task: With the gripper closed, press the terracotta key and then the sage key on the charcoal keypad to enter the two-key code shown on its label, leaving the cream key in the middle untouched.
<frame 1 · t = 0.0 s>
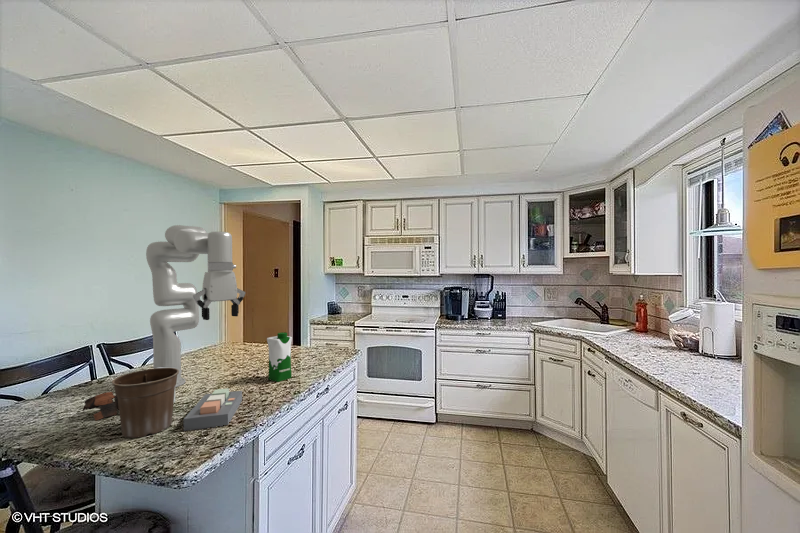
hand: (220, 317, 116), 31 cm above the counter, tool pointing down, fingers open, 9 cm apart
milk carton: (280, 379, 148), on the counter
keypad: (215, 413, 112), on the counter
sage key: (220, 395, 118), point 4 cm above the counter, slide at 0.0 cm
supplement box: (158, 406, 120), on the counter
plant pot: (147, 429, 102), on the counter
terracotta key: (210, 408, 106), point 4 cm above the counter, slide at 0.0 cm
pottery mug: (106, 414, 114), on the counter
cream key: (215, 401, 112), point 4 cm above the counter, slide at 0.0 cm
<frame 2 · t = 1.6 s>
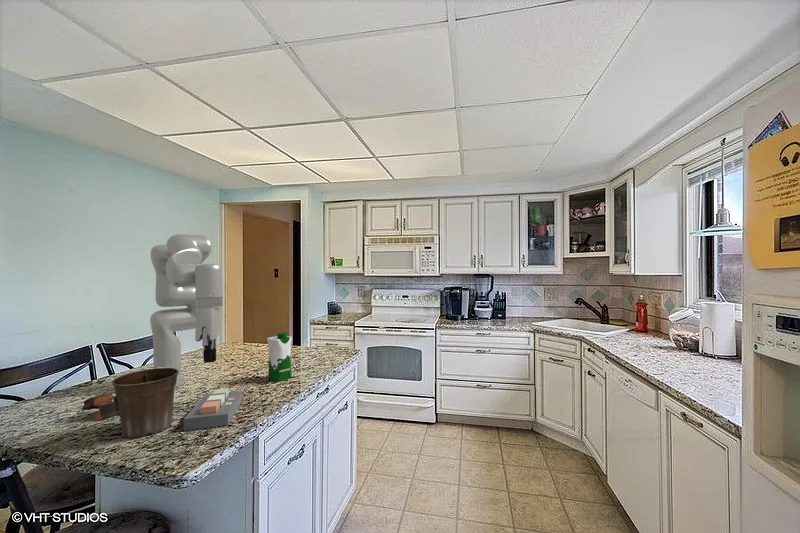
hand: (210, 361, 106), 19 cm above the counter, tool pointing down, fingers closed
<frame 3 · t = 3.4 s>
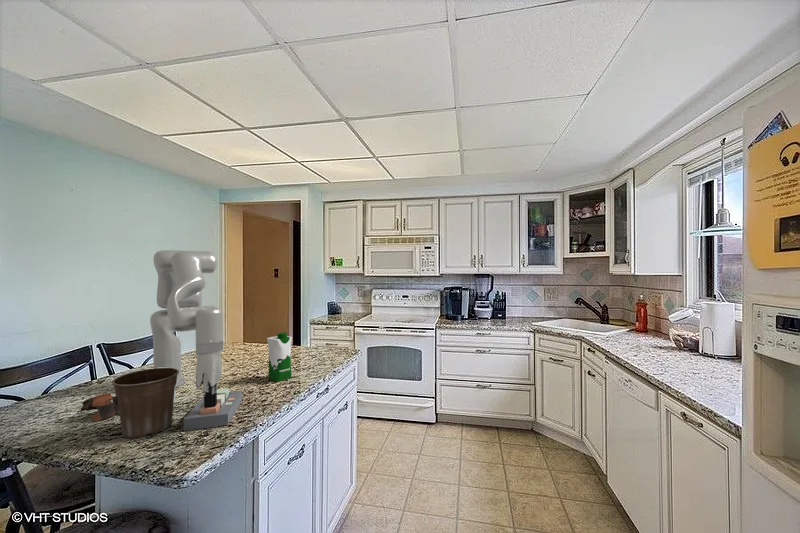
hand: (210, 406, 106), 5 cm above the counter, tool pointing down, fingers closed
terracotta key: (210, 411, 106), point 3 cm above the counter, slide at 0.7 cm, touching gripper
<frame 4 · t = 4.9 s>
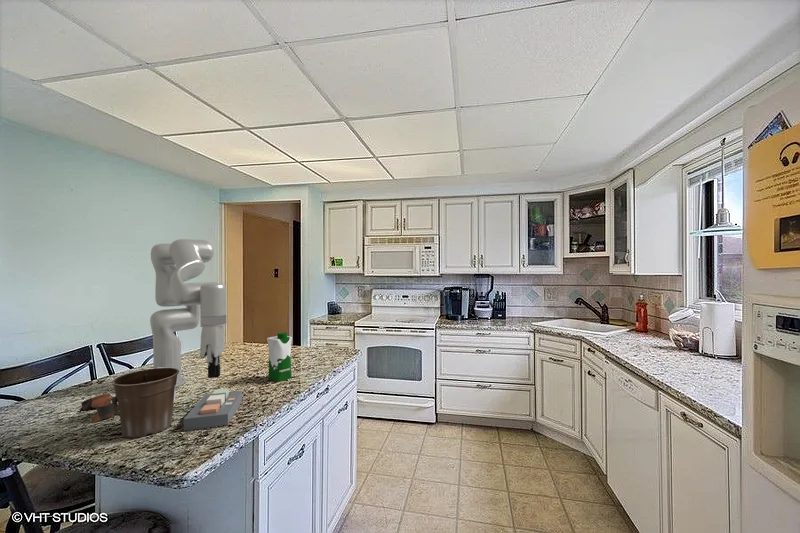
hand: (214, 377, 111), 13 cm above the counter, tool pointing down, fingers closed
terracotta key: (210, 411, 106), point 3 cm above the counter, slide at 0.9 cm
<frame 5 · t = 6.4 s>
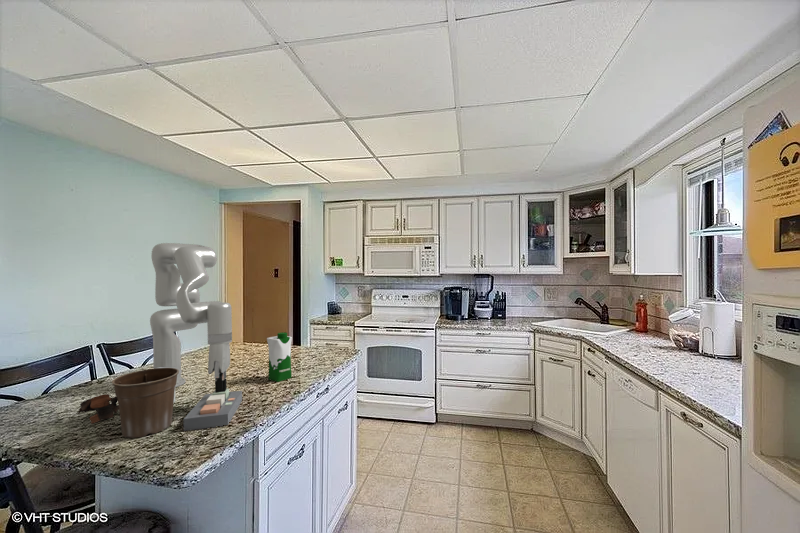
hand: (220, 391, 118), 6 cm above the counter, tool pointing down, fingers closed
sage key: (220, 395, 118), point 4 cm above the counter, slide at 0.0 cm, touching gripper
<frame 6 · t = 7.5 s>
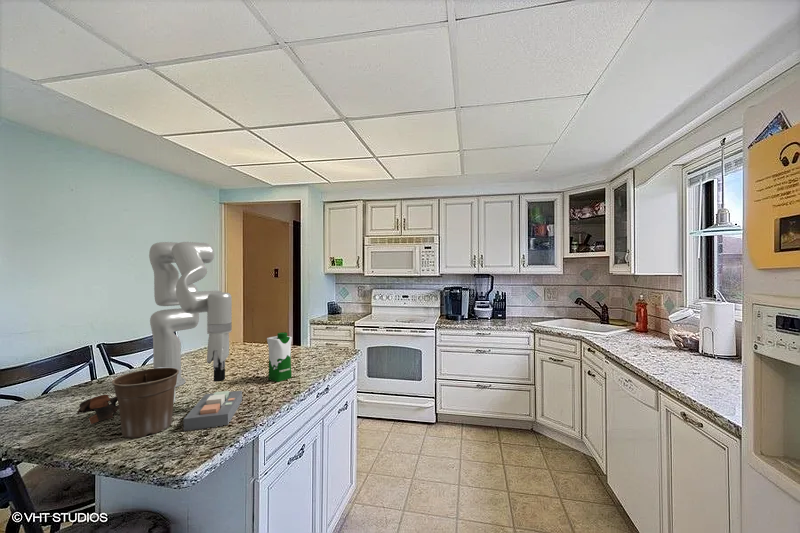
hand: (219, 380, 118), 9 cm above the counter, tool pointing down, fingers closed
sage key: (220, 397, 118), point 3 cm above the counter, slide at 0.9 cm
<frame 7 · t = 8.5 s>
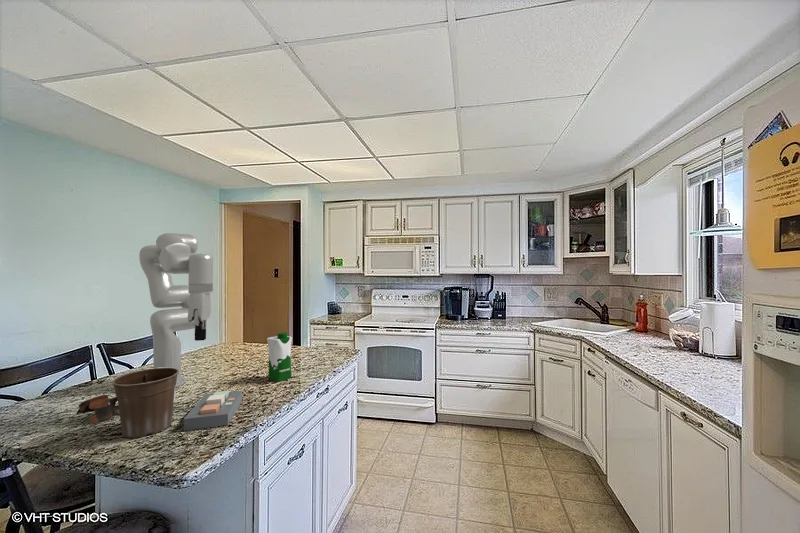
hand: (200, 339, 121), 23 cm above the counter, tool pointing down, fingers closed
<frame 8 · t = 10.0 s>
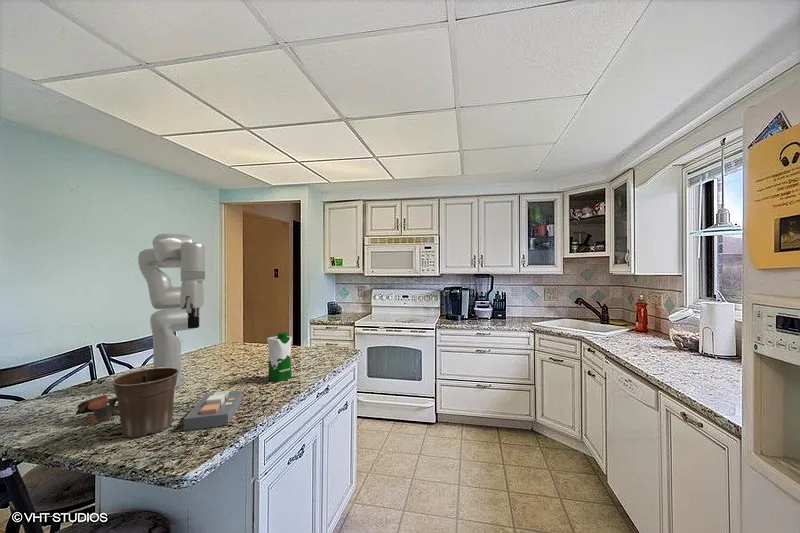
hand: (193, 327, 122), 27 cm above the counter, tool pointing down, fingers closed
at the end: terracotta key slide at 0.9 cm; sage key slide at 0.9 cm; cream key slide at 0.0 cm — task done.
